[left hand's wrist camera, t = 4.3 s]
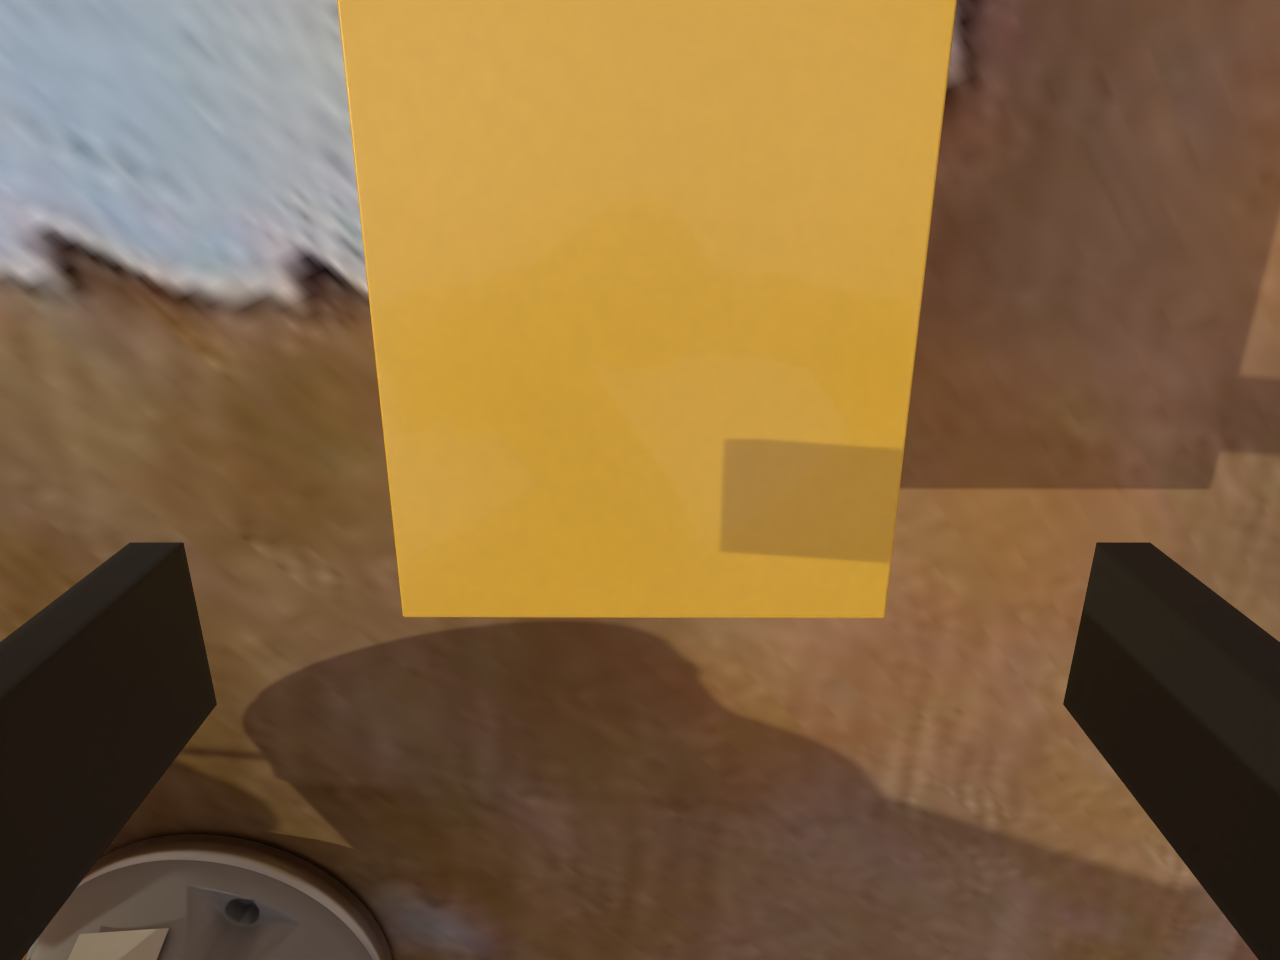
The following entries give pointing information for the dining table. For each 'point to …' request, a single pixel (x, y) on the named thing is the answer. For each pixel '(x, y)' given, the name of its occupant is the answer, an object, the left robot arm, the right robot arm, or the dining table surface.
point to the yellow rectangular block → (645, 295)
